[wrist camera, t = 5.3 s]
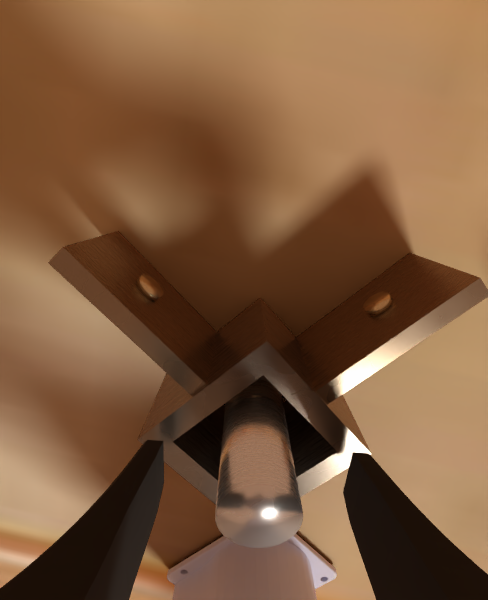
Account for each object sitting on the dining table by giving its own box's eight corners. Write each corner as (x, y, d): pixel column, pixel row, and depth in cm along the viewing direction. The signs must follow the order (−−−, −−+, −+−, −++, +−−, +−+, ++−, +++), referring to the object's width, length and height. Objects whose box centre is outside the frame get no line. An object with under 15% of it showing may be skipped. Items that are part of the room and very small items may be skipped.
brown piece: (245, 446, 19) (246, 530, 14) (67, 281, 16) (-9, 318, 11) (448, 308, 16) (532, 355, 11) (282, 69, 13) (304, -4, 8)
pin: (250, 407, 18) (253, 559, 11) (217, 375, 17) (196, 514, 10) (288, 380, 18) (320, 521, 10) (255, 346, 17) (265, 469, 9)
